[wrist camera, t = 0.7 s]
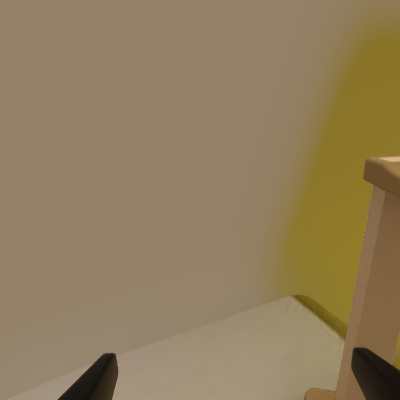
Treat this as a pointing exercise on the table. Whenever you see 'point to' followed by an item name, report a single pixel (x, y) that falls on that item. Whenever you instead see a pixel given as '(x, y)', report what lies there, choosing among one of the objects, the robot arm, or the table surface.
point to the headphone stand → (374, 280)
